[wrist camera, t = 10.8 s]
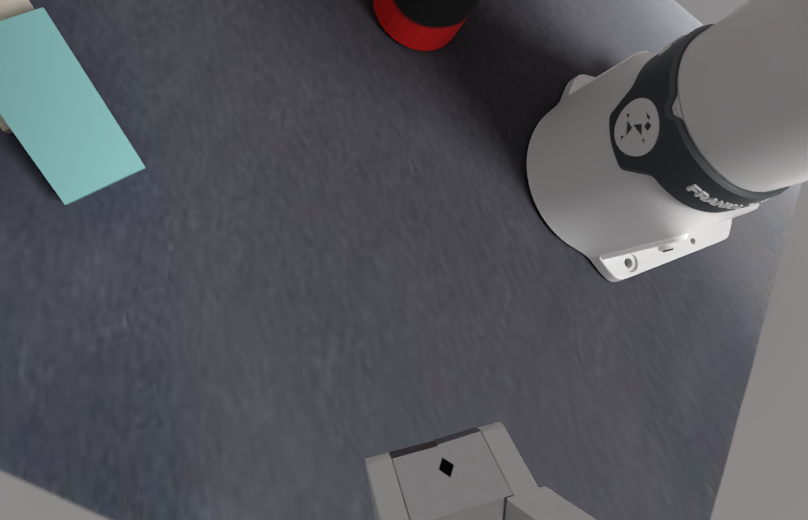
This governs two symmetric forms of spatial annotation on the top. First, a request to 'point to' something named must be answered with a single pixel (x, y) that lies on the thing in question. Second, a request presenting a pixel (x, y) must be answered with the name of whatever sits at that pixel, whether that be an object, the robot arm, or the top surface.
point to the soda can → (423, 20)
